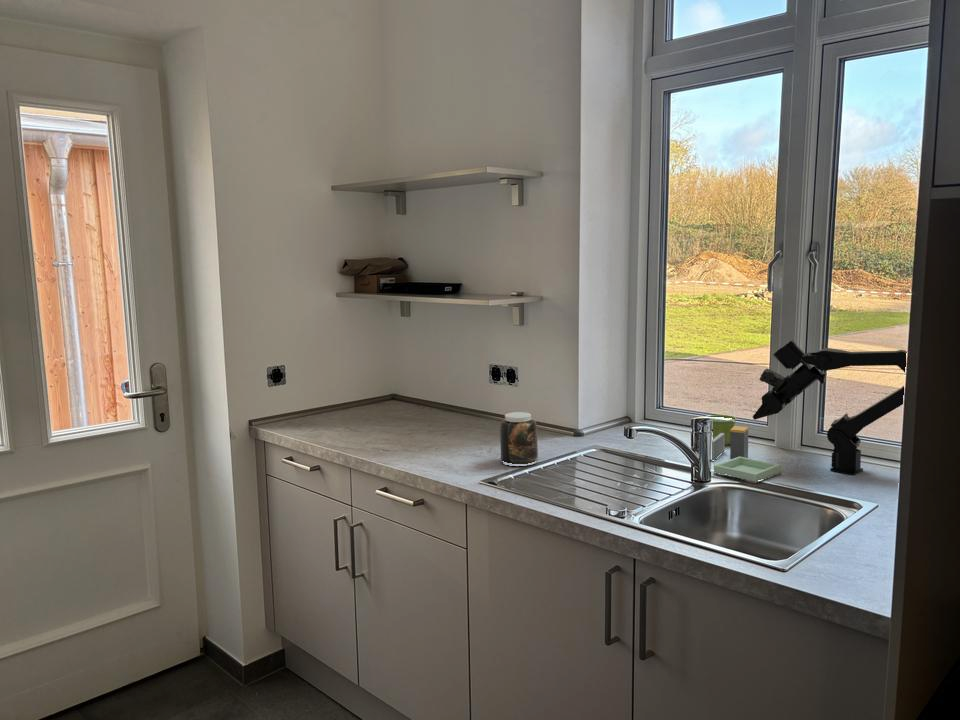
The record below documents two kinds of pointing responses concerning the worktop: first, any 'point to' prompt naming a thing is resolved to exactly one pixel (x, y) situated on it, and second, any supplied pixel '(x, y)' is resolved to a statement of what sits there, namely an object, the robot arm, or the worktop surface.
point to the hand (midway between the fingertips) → (757, 415)
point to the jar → (518, 438)
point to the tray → (748, 469)
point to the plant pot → (723, 427)
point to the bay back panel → (718, 445)
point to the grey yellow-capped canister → (738, 442)
